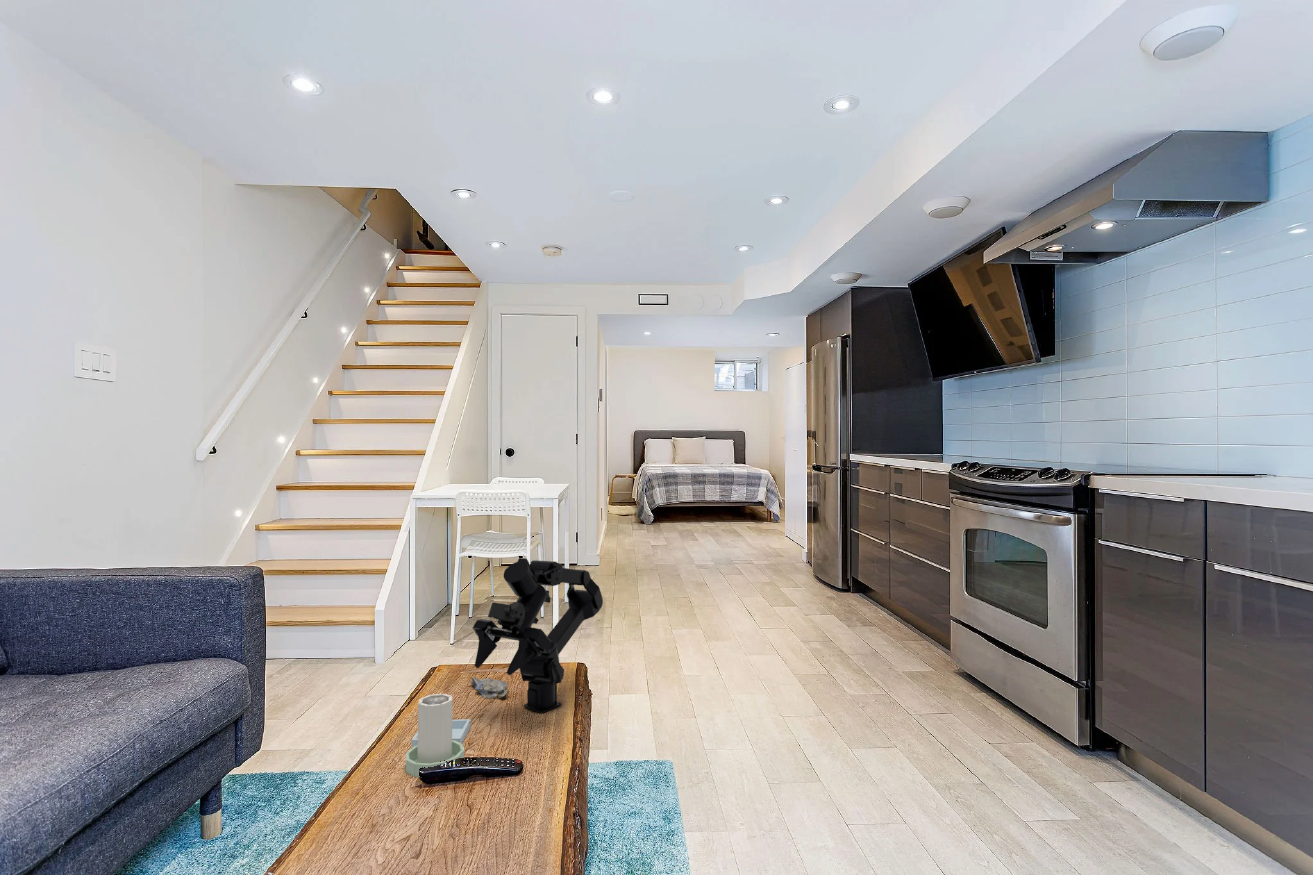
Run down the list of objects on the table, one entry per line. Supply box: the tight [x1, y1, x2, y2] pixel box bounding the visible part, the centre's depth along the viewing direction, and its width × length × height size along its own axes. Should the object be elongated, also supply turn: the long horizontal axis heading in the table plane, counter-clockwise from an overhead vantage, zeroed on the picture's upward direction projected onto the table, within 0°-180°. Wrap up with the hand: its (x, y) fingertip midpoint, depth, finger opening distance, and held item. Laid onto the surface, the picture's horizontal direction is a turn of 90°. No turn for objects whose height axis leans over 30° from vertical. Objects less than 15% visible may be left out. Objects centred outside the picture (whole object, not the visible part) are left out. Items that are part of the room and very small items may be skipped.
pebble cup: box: [417, 693, 453, 763], centre depth 123 cm, size 6×6×12 cm
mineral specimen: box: [470, 677, 509, 700], centre depth 163 cm, size 15×8×4 cm, turn 21°
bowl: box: [405, 740, 465, 778], centre depth 123 cm, size 10×10×3 cm
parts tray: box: [410, 718, 472, 749], centre depth 134 cm, size 10×10×2 cm
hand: (491, 670), depth 138 cm, fingers open, 9 cm apart
